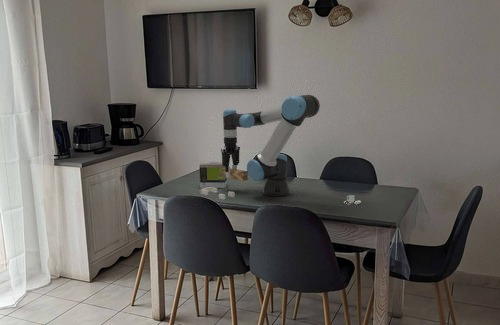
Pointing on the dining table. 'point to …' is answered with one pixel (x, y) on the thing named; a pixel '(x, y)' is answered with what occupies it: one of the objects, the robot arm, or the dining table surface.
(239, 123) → the robot arm
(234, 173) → the tan wooden bar
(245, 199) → the dining table surface
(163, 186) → the dining table surface
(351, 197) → the teacup and saucer
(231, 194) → the guide cap
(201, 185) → the tea box
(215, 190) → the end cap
